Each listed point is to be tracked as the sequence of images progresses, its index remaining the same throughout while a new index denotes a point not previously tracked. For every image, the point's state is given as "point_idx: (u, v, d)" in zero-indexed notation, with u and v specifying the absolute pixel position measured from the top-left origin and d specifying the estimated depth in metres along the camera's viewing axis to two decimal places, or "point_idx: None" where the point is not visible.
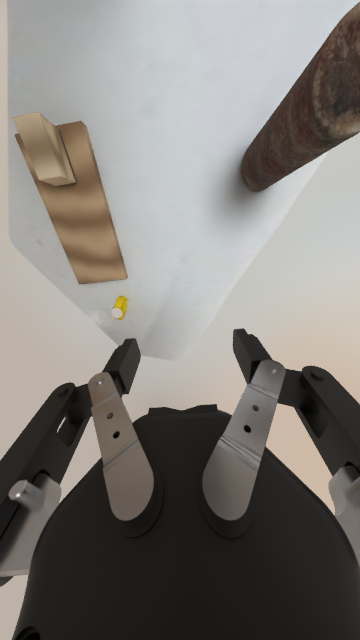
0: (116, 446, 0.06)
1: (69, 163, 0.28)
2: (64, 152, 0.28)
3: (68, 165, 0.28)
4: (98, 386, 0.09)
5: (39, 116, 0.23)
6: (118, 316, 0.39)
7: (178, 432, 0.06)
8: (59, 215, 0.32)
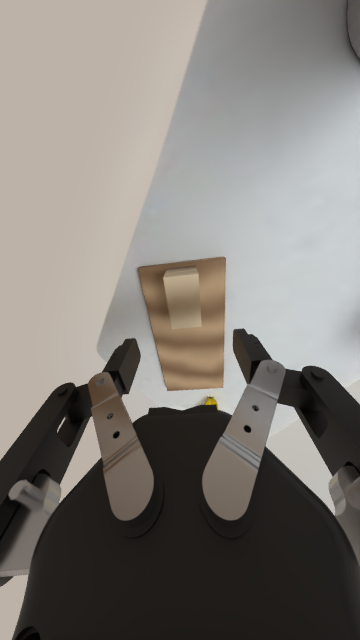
0: (116, 446, 0.06)
1: None
2: None
3: None
4: (98, 386, 0.09)
5: (198, 277, 0.18)
6: None
7: (178, 432, 0.06)
8: (167, 337, 0.28)
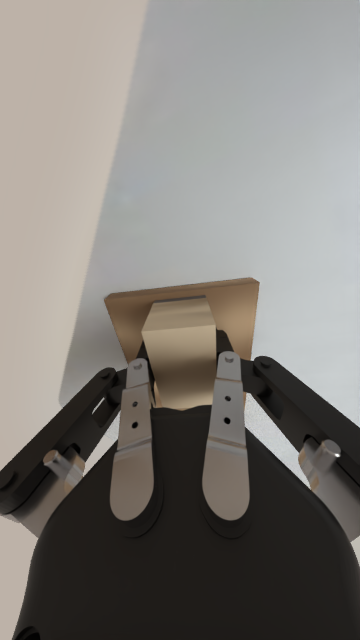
0: (131, 436, 0.06)
1: None
2: None
3: None
4: (138, 370, 0.09)
5: (214, 331, 0.09)
6: None
7: (178, 432, 0.06)
8: (158, 394, 0.18)
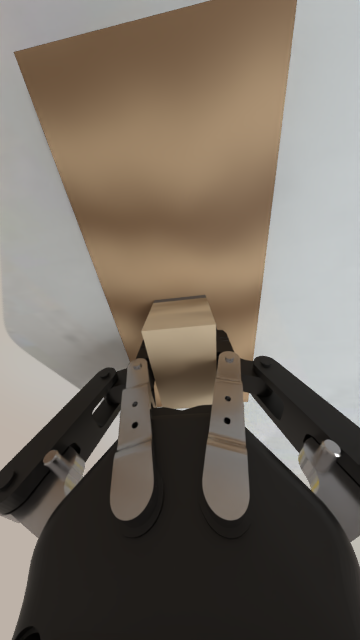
0: (131, 436, 0.06)
1: None
2: None
3: None
4: (138, 370, 0.09)
5: (214, 330, 0.09)
6: None
7: (178, 432, 0.06)
8: (133, 297, 0.13)
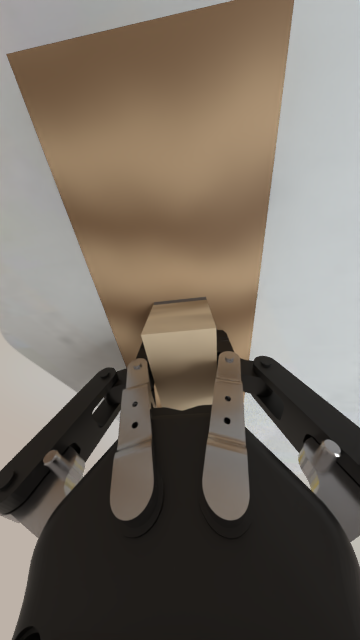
0: (131, 436, 0.06)
1: None
2: None
3: None
4: (138, 370, 0.09)
5: (215, 334, 0.08)
6: None
7: (178, 432, 0.06)
8: (129, 301, 0.12)
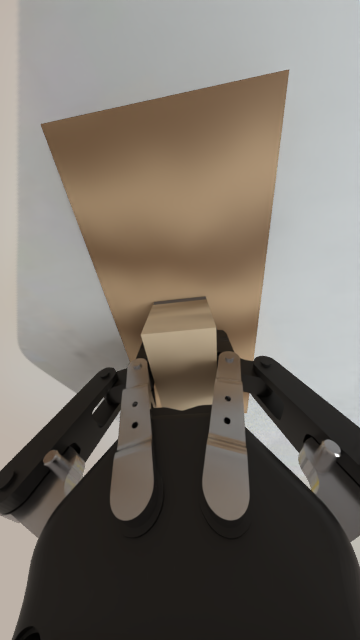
0: (131, 436, 0.06)
1: None
2: None
3: None
4: (138, 370, 0.09)
5: (214, 334, 0.08)
6: None
7: (178, 432, 0.06)
8: (140, 321, 0.14)
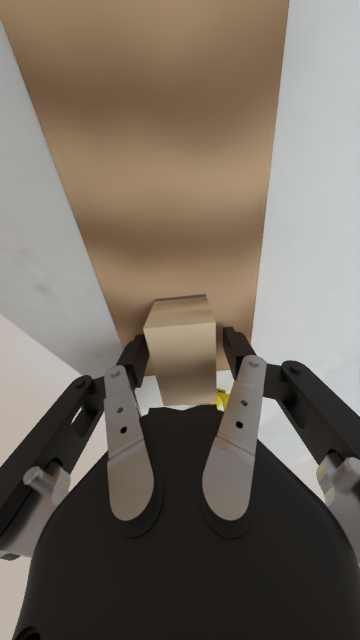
0: (122, 441, 0.06)
1: None
2: None
3: None
4: (114, 378, 0.09)
5: (214, 328, 0.09)
6: None
7: (178, 432, 0.06)
8: (110, 220, 0.10)
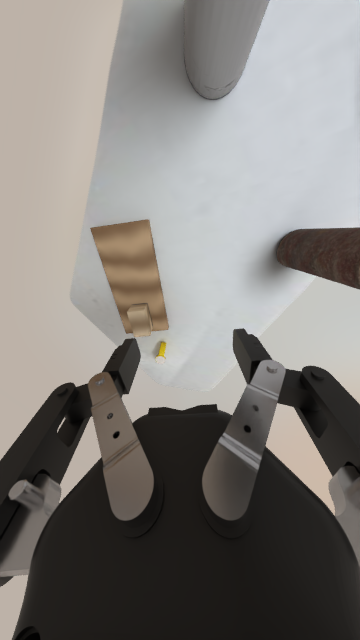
0: (116, 446, 0.06)
1: (150, 318, 0.42)
2: (149, 314, 0.41)
3: (150, 321, 0.41)
4: (98, 386, 0.09)
5: (143, 312, 0.37)
6: (161, 362, 0.44)
7: (178, 432, 0.06)
8: (118, 283, 0.38)
